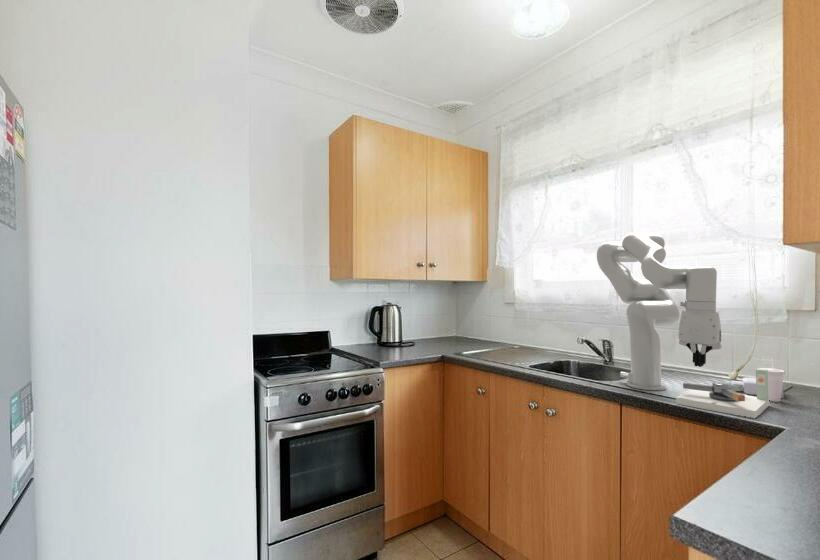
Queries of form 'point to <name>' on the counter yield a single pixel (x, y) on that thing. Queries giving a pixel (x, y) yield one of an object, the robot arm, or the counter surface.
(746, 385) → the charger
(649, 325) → the robot arm
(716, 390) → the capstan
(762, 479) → the counter surface
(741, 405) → the stand
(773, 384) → the smoothie
